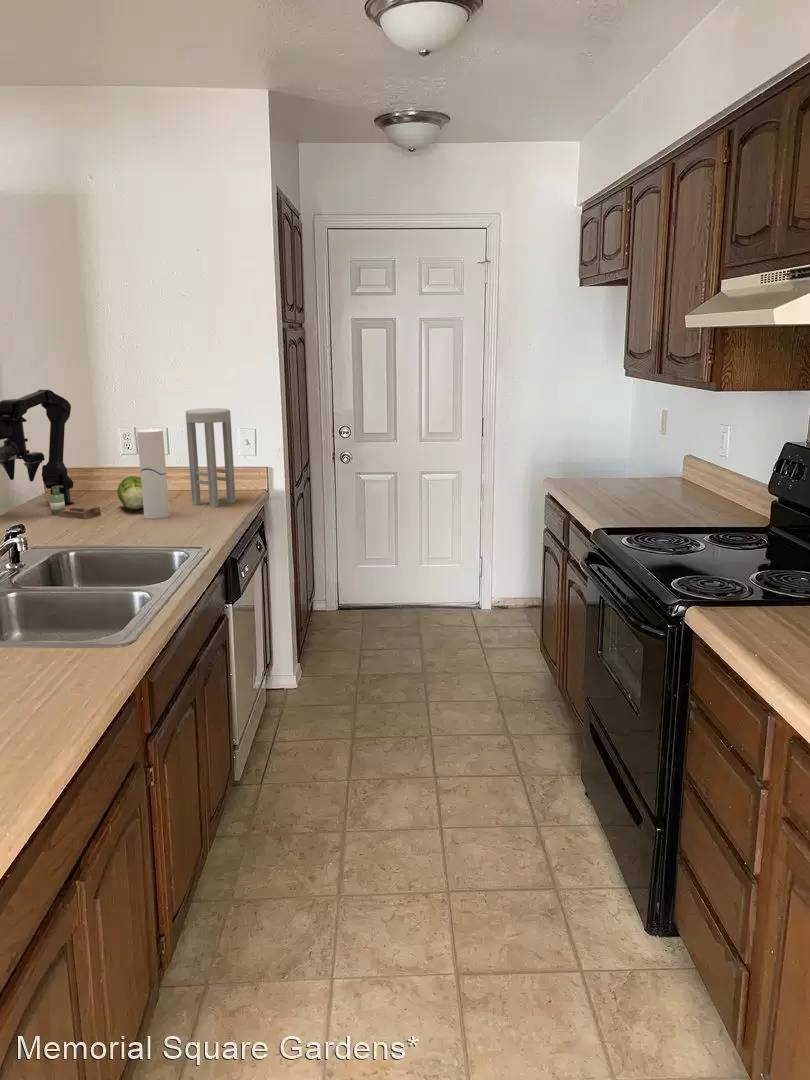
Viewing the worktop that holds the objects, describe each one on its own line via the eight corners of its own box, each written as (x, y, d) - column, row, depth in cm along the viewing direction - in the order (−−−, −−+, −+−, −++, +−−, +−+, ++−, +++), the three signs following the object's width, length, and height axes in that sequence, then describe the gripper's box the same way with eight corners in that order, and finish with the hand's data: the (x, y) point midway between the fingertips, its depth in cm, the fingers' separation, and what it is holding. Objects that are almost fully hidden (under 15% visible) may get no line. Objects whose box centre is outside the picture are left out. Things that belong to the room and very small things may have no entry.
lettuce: (119, 516, 295) (117, 484, 292) (118, 505, 314) (115, 475, 311) (153, 513, 299) (151, 482, 296) (150, 503, 318) (147, 473, 315)
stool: (214, 509, 305) (208, 412, 297) (184, 505, 313) (177, 410, 305) (243, 501, 318) (238, 409, 310) (213, 498, 326) (207, 407, 318)
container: (162, 519, 289) (155, 432, 282) (139, 518, 291) (132, 431, 284) (173, 513, 298) (167, 429, 290) (151, 513, 299) (144, 429, 292)
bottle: (58, 512, 302) (55, 484, 300) (68, 513, 301) (65, 485, 298) (48, 514, 298) (45, 487, 296) (58, 515, 296) (55, 488, 294)
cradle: (73, 512, 301) (72, 504, 300) (100, 515, 297) (99, 506, 296) (59, 516, 295) (58, 508, 294) (86, 519, 291) (86, 510, 290)
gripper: (-24, 438, 287) (-17, 483, 291) (17, 441, 280) (23, 486, 284) (2, 434, 297) (9, 477, 301) (42, 436, 290) (48, 480, 294)
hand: (21, 480), depth 295 cm, fingers open, 9 cm apart
